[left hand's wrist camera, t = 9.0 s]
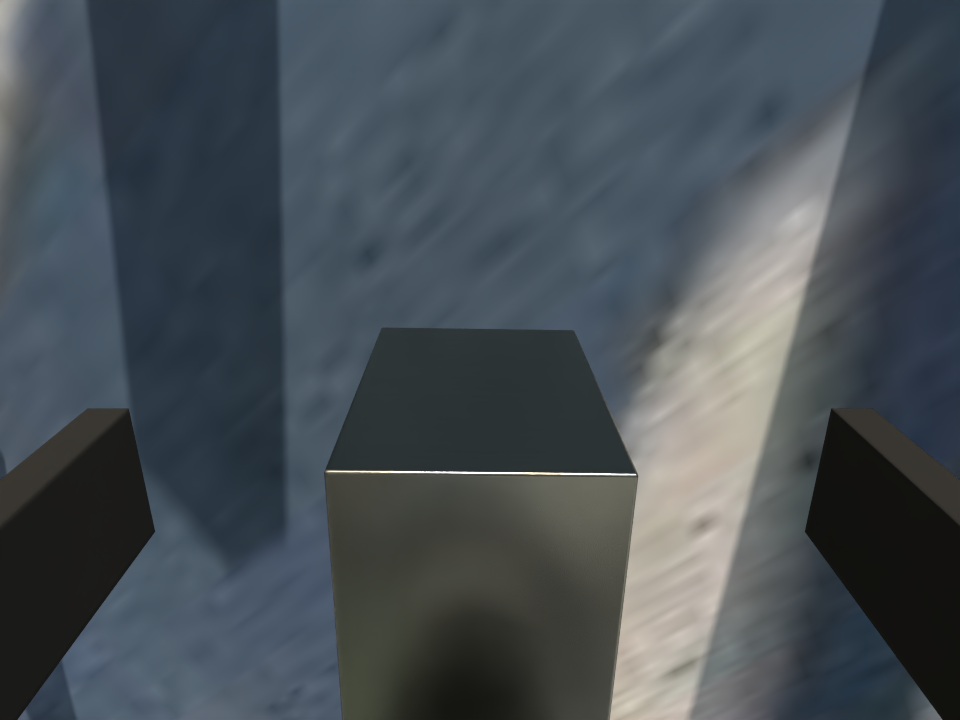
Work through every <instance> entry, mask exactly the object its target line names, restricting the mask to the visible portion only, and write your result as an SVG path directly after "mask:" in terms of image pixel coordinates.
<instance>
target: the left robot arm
mask: <svg viewBox="0 0 960 720" xmlns="http://www.w3.org/2000/svg"><path fill="white" fill-rule="evenodd" d="M154 532H155V529H154V524H153V520H152V515H151V511H150V506H149V501H148V497H147V492H146V487H145V483H144V478H143V473H142V469H141V464H140V459H139V455H138V450H137V445H136V441H135V436H134V431H133V427H132V422H131V417H130V413H129V409H86V410H85V411H84V412H83V413H82V414H80V415H79V416H78V417H77V418H75V419H74V420H73V421H72V422H71V423H69V424H68V425H67V426H66V427H64V428H63V429H62V430H61V431H60V432H58V433H57V434H56V435H55V436H53V437H52V438H51V439H50V440H49V441H47V442H46V443H45V444H44V445H42V446H41V447H40V448H39V449H38V450H36V451H35V452H34V453H33V454H31V455H30V456H29V457H28V458H27V459H25V460H24V461H23V462H22V463H20V464H19V465H18V466H17V467H15V468H14V469H13V470H12V471H11V472H9V473H8V474H7V475H6V476H4V477H3V478H2V479H1V480H0V720H17V719H18V718H19V717H20V715H21V714H22V713H23V711H24V710H25V708H26V707H27V706H28V704H29V703H30V702H31V700H32V699H33V698H34V696H35V695H36V693H37V692H38V691H39V689H40V688H41V687H42V685H43V684H44V682H45V681H46V680H47V678H48V677H49V676H50V674H51V673H52V672H53V670H54V669H55V667H56V666H57V665H58V663H59V662H60V661H61V659H62V658H63V657H64V655H65V654H66V652H67V651H68V650H69V648H70V647H71V646H72V644H73V643H74V642H75V640H76V639H77V637H78V636H79V635H80V633H81V632H82V631H83V629H84V628H85V627H86V625H87V624H88V622H89V621H90V620H91V618H92V617H93V616H94V614H95V613H96V612H97V610H98V609H99V607H100V606H101V605H102V603H103V602H104V601H105V599H106V598H107V597H108V595H109V594H110V592H111V591H112V590H113V588H114V587H115V586H116V584H117V583H118V581H119V580H120V579H121V577H122V576H123V575H124V573H125V572H126V571H127V569H128V568H129V566H130V565H131V564H132V562H133V561H134V560H135V558H136V557H137V556H138V554H139V553H140V551H141V550H142V549H143V547H144V546H145V545H146V543H147V542H148V541H149V539H150V538H151V536H152V535H153V534H154ZM805 532H806V534H807V535H808V536H809V538H810V539H811V541H812V542H813V543H814V545H815V546H816V547H817V549H818V550H819V551H820V553H821V554H822V556H823V557H824V558H825V560H826V561H827V562H828V564H829V565H830V566H831V568H832V569H833V571H834V572H835V573H836V575H837V576H838V577H839V579H840V580H841V581H842V583H843V584H844V586H845V587H846V588H847V590H848V591H849V592H850V594H851V595H852V597H853V598H854V599H855V601H856V602H857V603H858V605H859V606H860V607H861V609H862V610H863V612H864V613H865V614H866V616H867V617H868V618H869V620H870V621H871V622H872V624H873V625H874V627H875V628H876V629H877V631H878V632H879V633H880V635H881V636H882V637H883V639H884V640H885V642H886V643H887V644H888V646H889V647H890V648H891V650H892V651H893V652H894V654H895V655H896V657H897V658H898V659H899V661H900V662H901V663H902V665H903V666H904V667H905V669H906V670H907V672H908V673H909V674H910V676H911V677H912V678H913V680H914V681H915V682H916V684H917V685H918V687H919V688H920V689H921V691H922V692H923V693H924V695H925V696H926V698H927V699H928V700H929V702H930V703H931V704H932V706H933V707H934V708H935V710H936V711H937V713H938V714H939V715H940V717H941V718H942V719H943V720H960V480H959V479H958V478H957V477H956V476H954V475H953V474H952V473H951V472H949V471H948V470H947V469H946V468H945V467H943V466H942V465H941V464H940V463H938V462H937V461H936V460H935V459H933V458H932V457H931V456H930V455H929V454H927V453H926V452H925V451H924V450H922V449H921V448H920V447H919V446H918V445H916V444H915V443H914V442H913V441H911V440H910V439H909V438H908V437H907V436H905V435H904V434H903V433H902V432H900V431H899V430H898V429H897V428H896V427H894V426H893V425H892V424H891V423H889V422H888V421H887V420H886V419H885V418H883V417H882V416H881V415H880V414H878V413H877V412H876V411H875V410H874V409H831V413H830V417H829V422H828V427H827V431H826V436H825V441H824V445H823V450H822V455H821V459H820V464H819V469H818V473H817V478H816V483H815V487H814V492H813V497H812V501H811V506H810V511H809V515H808V520H807V524H806V529H805Z"/></svg>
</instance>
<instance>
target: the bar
mask: <svg viewBox="0 0 960 720" xmlns="http://www.w3.org/2000/svg"><path fill="white" fill-rule="evenodd" d="M324 476H325V489H326V503H327V517H328V531H329V545H330V559H331V572H332V586H333V600H334V614H335V628H336V642H337V655H338V669H339V683H340V697H341V711H342V720H610V712H611V703H612V695H613V686H614V678H615V669H616V661H617V652H618V644H619V635H620V627H621V618H622V610H623V601H624V593H625V584H626V576H627V567H628V559H629V550H630V542H631V533H632V525H633V516H634V508H635V499H636V491H637V482H638V474H637V472H636V469H635V467H634V465H633V463H632V460H631V458H630V456H629V454H628V451H627V449H626V447H625V445H624V442H623V440H622V438H621V435H620V433H619V431H618V429H617V426H616V424H615V422H614V420H613V417H612V415H611V413H610V411H609V408H608V406H607V404H606V402H605V399H604V397H603V395H602V393H601V390H600V388H599V386H598V384H597V381H596V379H595V377H594V375H593V372H592V370H591V368H590V366H589V363H588V361H587V359H586V357H585V354H584V352H583V350H582V348H581V345H580V343H579V341H578V339H577V336H576V334H575V332H574V331H573V330H511V329H442V328H381V331H380V333H379V336H378V338H377V341H376V344H375V346H374V349H373V351H372V354H371V356H370V359H369V361H368V364H367V366H366V369H365V371H364V374H363V376H362V379H361V381H360V384H359V386H358V389H357V391H356V394H355V396H354V399H353V401H352V404H351V407H350V409H349V412H348V414H347V417H346V419H345V422H344V424H343V427H342V429H341V432H340V434H339V437H338V439H337V442H336V444H335V447H334V449H333V452H332V454H331V457H330V459H329V462H328V464H327V467H326V470H325V472H324Z"/></svg>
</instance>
